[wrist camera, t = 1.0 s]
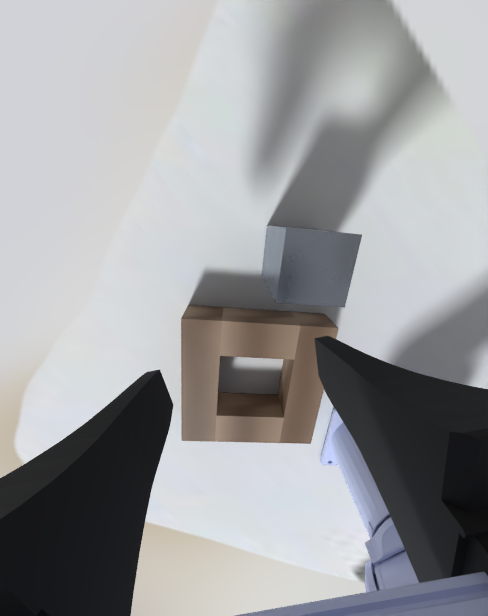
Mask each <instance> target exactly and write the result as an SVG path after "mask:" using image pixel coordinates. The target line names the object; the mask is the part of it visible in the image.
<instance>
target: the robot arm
mask: <svg viewBox="0 0 488 616" xmlns="http://www.w3.org/2000/svg"><path fill="white" fill-rule="evenodd" d="M314 339H315V348H316V357H317V366H318V375H319V378H320V380H321V383H322V385H323V387H324V389H325V392H326V394H327V396H328V397H329V399H330V401H331V403H332V404H333V406H334V408H335V409H334V410H333V413H332V417H331V421H330V425H329V428H328V432H327V436H326V440H325V443H324V447H323V451H322V455H321V458H320V461H321V463H322V464H323V465H338V466H339V468H340V470H341V473H342V475H343V477H344V479H345V482H346V484H347V486H348V489H349V491H350V493H351V496H352V498H353V500H354V502H355V505H356V507H357V509H358V512H359V514H360V516H361V519H362V521H363V523H364V525H365V528H366V530H367V532H368V535H369V537H370V540H369V541H367V542H365V545H366V548H367V550H368V553H369V555H370V558H371V560H370V561H368V562H367V563H366V565H365V587H366V593H360V594H355V595H349V596H343V597H338V598H332V599H327V600H321V601H315V602H310V603H304V604H299V605H293V606H287V607H281V608H275V609H270V610H264V611H259V612H253V613H248V614H242V615H236V616H488V389H483V388H477V387H472V386H467V385H462V384H458V383H453V382H449V381H445V380H441V379H437V378H433V377H429V376H426V375H422V374H419V373H415V372H412V371H409V370H406V369H403V368H400V367H397V366H394V365H392V364H389V363H386V362H384V361H381V360H379V359H377V358H374V357H372V356H369V355H367V354H365V353H363V352H361V351H359V350H356V349H354V348H352V347H350V346H348V345H346V344H344V343H342V342H340V341H338V340H336V339H334V338H332V337H330V336H323V337H318V338H314ZM172 409H173V403H172V400H171V398H170V395H169V392H168V390H167V387H166V385H165V382H164V379H163V377H162V374H161V372H160V370H155V371H151V372H147V373H145V374H144V375H142V376H141V377H140V378H139V379H137V380H136V381H135V382H134V383H133V384H132V385H130V386H129V387H128V388H127V389H126V390H125V391H124V392H122V393H121V394H120V395H119V396H118V397H117V398H116V399H114V400H113V401H112V402H111V403H110V404H108V405H107V406H106V407H105V408H104V409H102V410H101V411H100V412H99V413H97V414H96V415H95V416H94V417H93V418H91V419H90V420H89V421H88V422H86V423H85V424H84V425H82V426H81V427H80V428H78V429H77V430H76V431H74V432H73V433H71V434H70V435H69V436H67V437H66V438H64V439H63V440H62V441H60V442H59V443H57V444H56V445H54V446H53V447H51V448H49V449H48V450H46V451H45V452H43V453H42V454H40V455H39V456H37V457H35V458H34V459H32V460H31V461H29V462H28V463H26V464H24V465H23V466H21V467H19V468H18V469H16V470H14V471H12V472H11V473H9V474H7V475H6V476H4V477H2V478H0V616H130V614H131V606H132V599H133V590H134V584H135V578H136V571H137V564H138V558H139V551H140V546H141V540H142V535H143V528H144V523H145V518H146V513H147V508H148V503H149V498H150V493H151V489H152V485H153V481H154V477H155V474H156V471H157V467H158V464H159V461H160V457H161V454H162V451H163V448H164V444H165V441H166V437H167V434H168V431H169V427H170V422H171V416H172Z"/></svg>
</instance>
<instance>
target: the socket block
mask: <svg viewBox="0 0 488 616" xmlns="http://www.w3.org/2000/svg"><path fill="white" fill-rule="evenodd" d="M337 332H338V327H337V326H336V325H335V324H334V323H333V322H332V321H331V320H330V319H329V318H328V317H327V316H326V315H325V314H320V313H304V312H288V311H273V310H257V309H242V308H226V307H210V306H195V305H188V306H187V308H186V310H185V312H184V314H183V316H182V318H181V365H182V441H219V442H263V443H307V444H311V440H312V436H313V432H314V428H315V423H316V419H317V415H318V411H319V407H320V403H321V398H322V394H323V390H324V387H323V385H322V383H321V380H320V378H319V375H318V366H317V357H316V348H315V339H314V338H318V337H323V336H330V337H332V338H334V339H336V336H337ZM220 356H232V357H252V358H273V359H284V360H283V367H282V373H281V379H280V385H279V391H278V395H269V394H242V393H218V387H219V371H220Z"/></svg>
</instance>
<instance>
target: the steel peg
mask: <svg viewBox="0 0 488 616" xmlns="http://www.w3.org/2000/svg"><path fill="white" fill-rule="evenodd" d="M361 237H362V235H359V234H350V233H342V232H333V231H324V230H315V229H304V228H293V227H282V226H271V225H267V231H266V240H265V249H264V258H263V267H262V278H263V279H264V281H265V283H266V285H267V287H268V289H269V291H270V292H271V294H272V296H273V298H274V300H275V302H276V303H289V304H304V305H319V306H334V307H345V303H346V299H347V295H348V291H349V287H350V283H351V279H352V274H353V270H354V266H355V262H356V258H357V254H358V249H359V245H360V241H361Z"/></svg>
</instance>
